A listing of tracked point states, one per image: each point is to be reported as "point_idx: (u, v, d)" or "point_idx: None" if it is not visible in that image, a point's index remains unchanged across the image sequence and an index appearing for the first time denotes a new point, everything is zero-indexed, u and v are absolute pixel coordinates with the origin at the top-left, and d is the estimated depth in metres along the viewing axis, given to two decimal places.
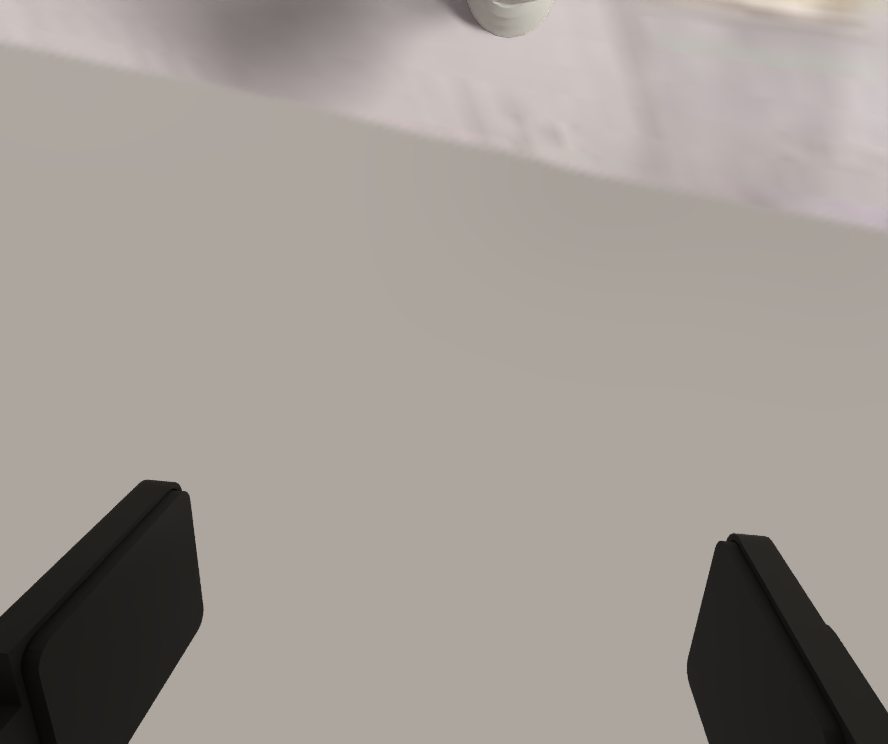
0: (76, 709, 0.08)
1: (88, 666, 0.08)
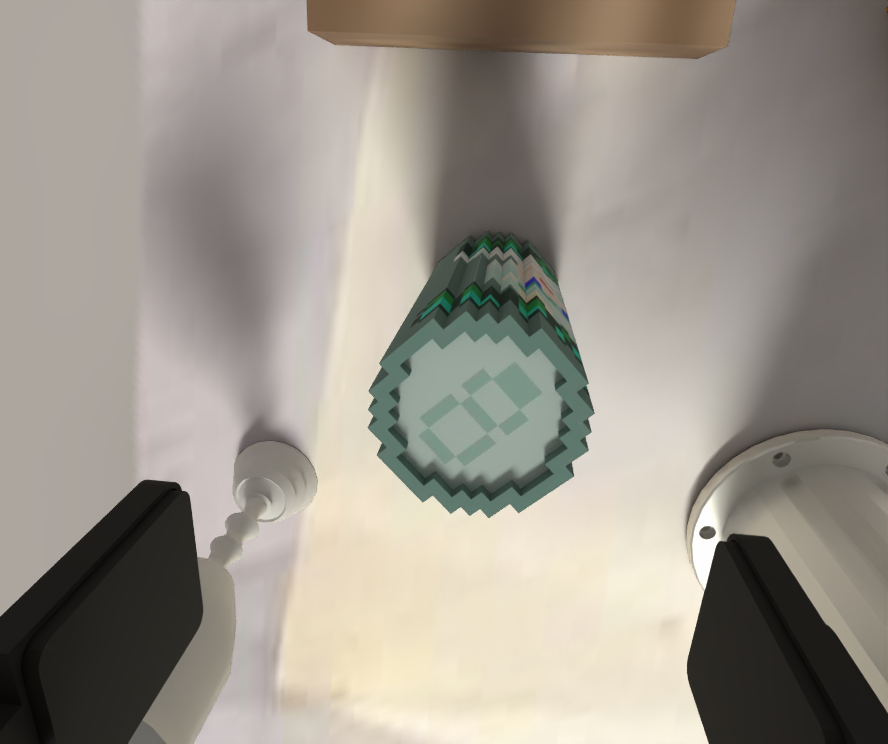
0: (76, 709, 0.08)
1: (88, 666, 0.08)
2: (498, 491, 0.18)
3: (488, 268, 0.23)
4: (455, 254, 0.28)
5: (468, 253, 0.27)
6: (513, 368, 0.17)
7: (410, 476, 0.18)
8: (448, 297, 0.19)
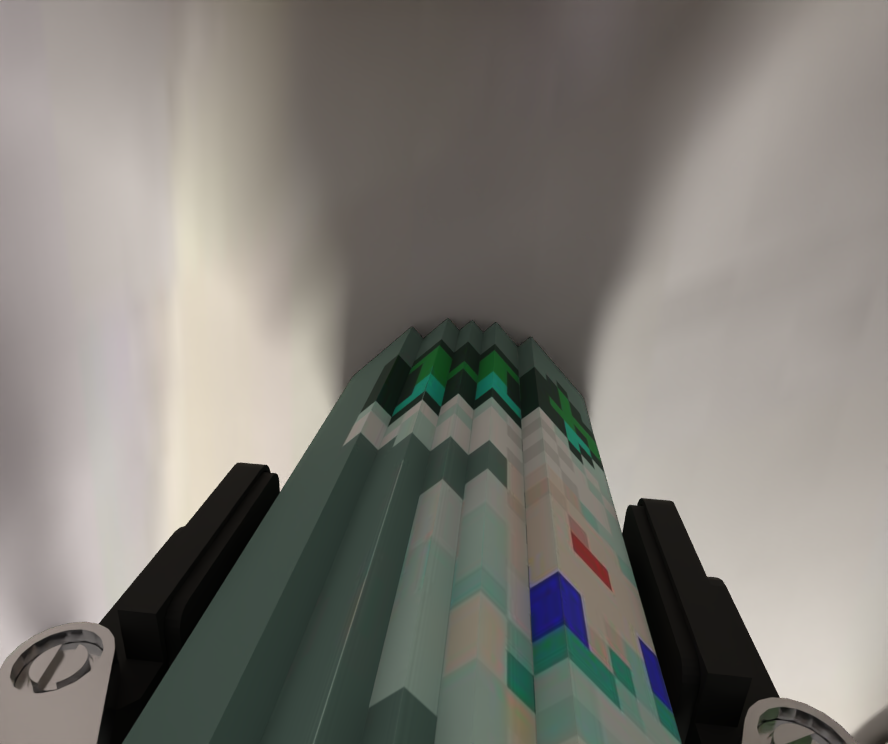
0: None
1: None
2: None
3: (416, 529, 0.07)
4: (366, 394, 0.12)
5: (393, 398, 0.12)
6: None
7: None
8: None
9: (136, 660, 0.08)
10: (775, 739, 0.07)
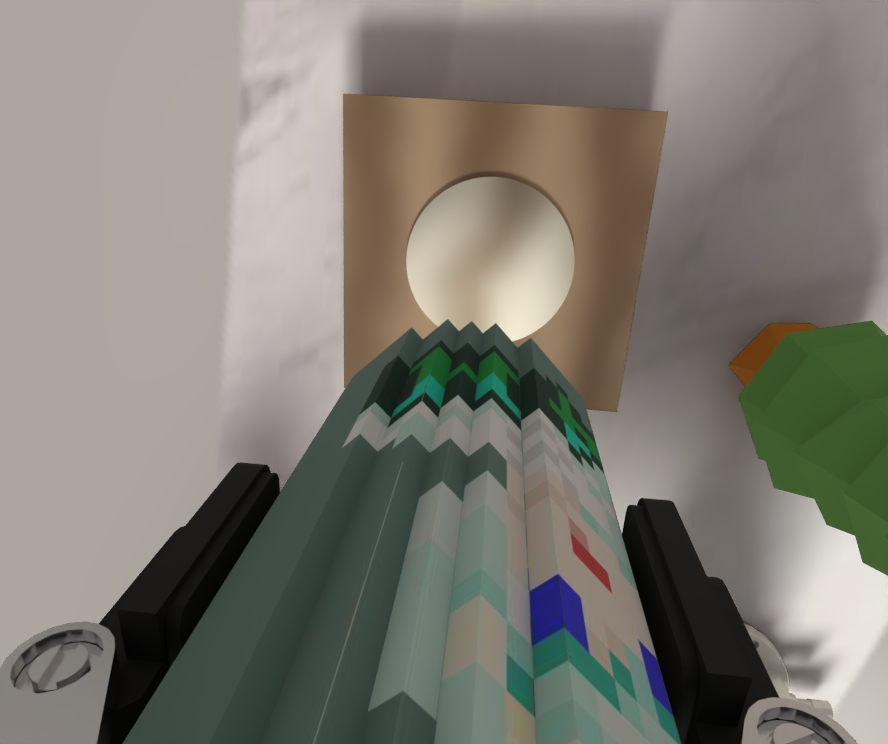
0: None
1: None
2: None
3: (415, 532, 0.07)
4: (366, 395, 0.12)
5: (393, 399, 0.12)
6: None
7: None
8: None
9: (136, 660, 0.08)
10: (775, 739, 0.07)
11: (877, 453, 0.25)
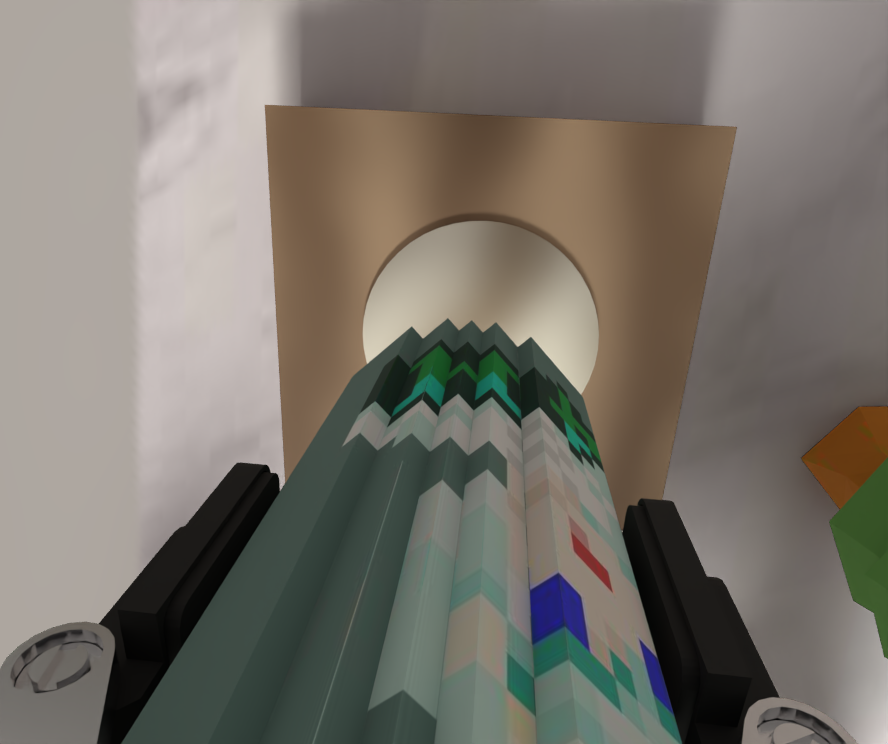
0: None
1: None
2: None
3: (415, 530, 0.07)
4: (366, 394, 0.12)
5: (393, 398, 0.12)
6: None
7: None
8: None
9: (136, 660, 0.08)
10: (775, 739, 0.07)
11: None
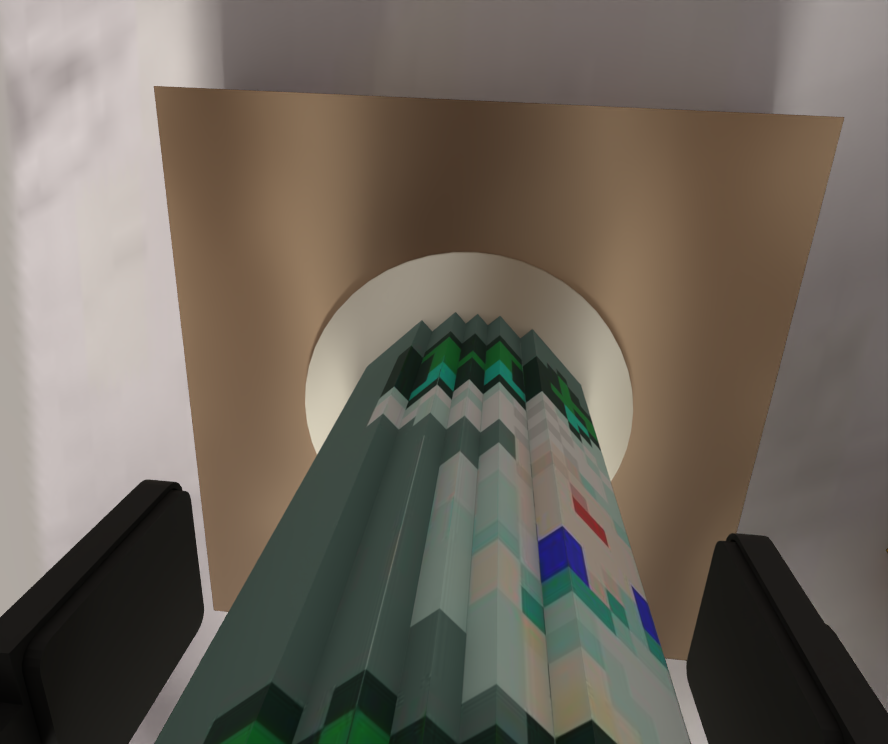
0: (77, 708, 0.08)
1: (89, 666, 0.08)
2: None
3: (439, 493, 0.09)
4: (383, 381, 0.13)
5: (409, 384, 0.13)
6: None
7: None
8: None
9: None
10: None
11: None
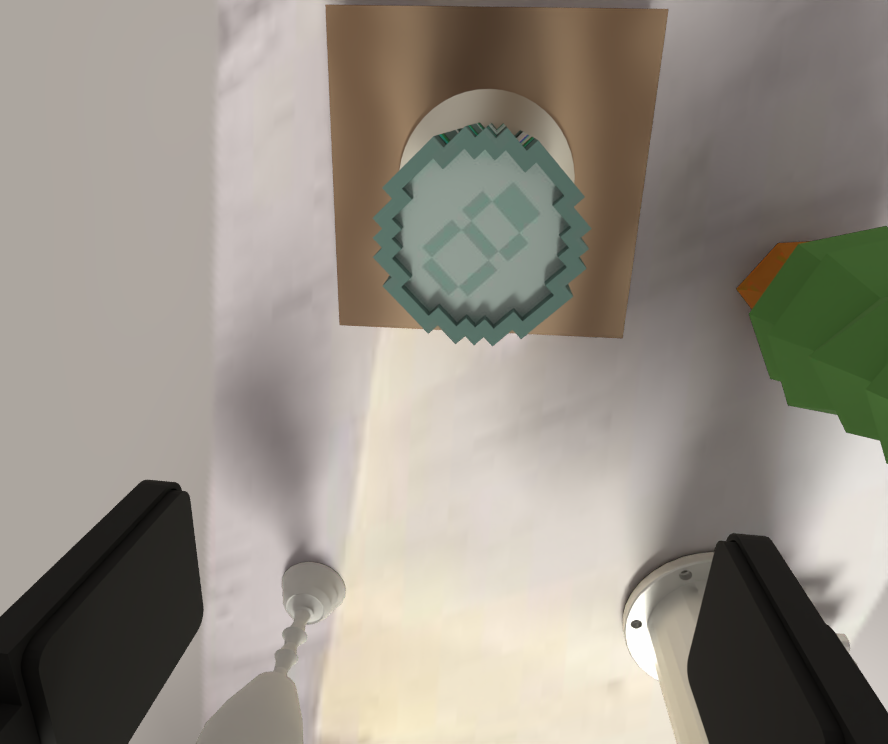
0: (76, 709, 0.08)
1: (88, 666, 0.08)
2: (501, 319, 0.19)
3: None
4: None
5: None
6: (512, 188, 0.18)
7: (416, 306, 0.19)
8: (446, 138, 0.20)
9: None
10: None
11: None
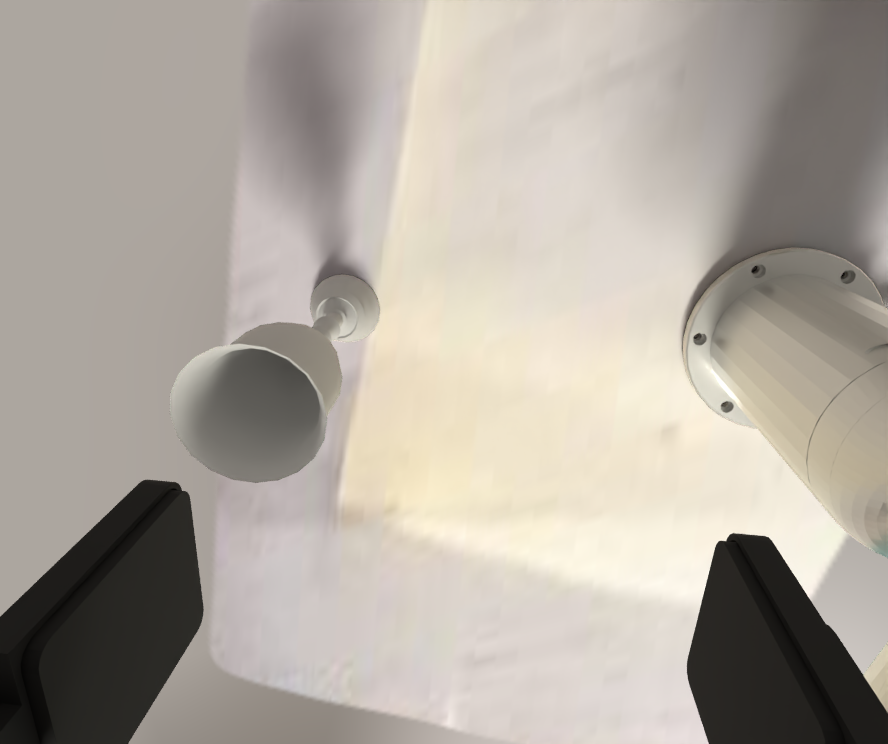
0: (76, 709, 0.08)
1: (88, 666, 0.08)
2: None
3: None
4: None
5: None
6: None
7: None
8: None
9: None
10: None
11: None
